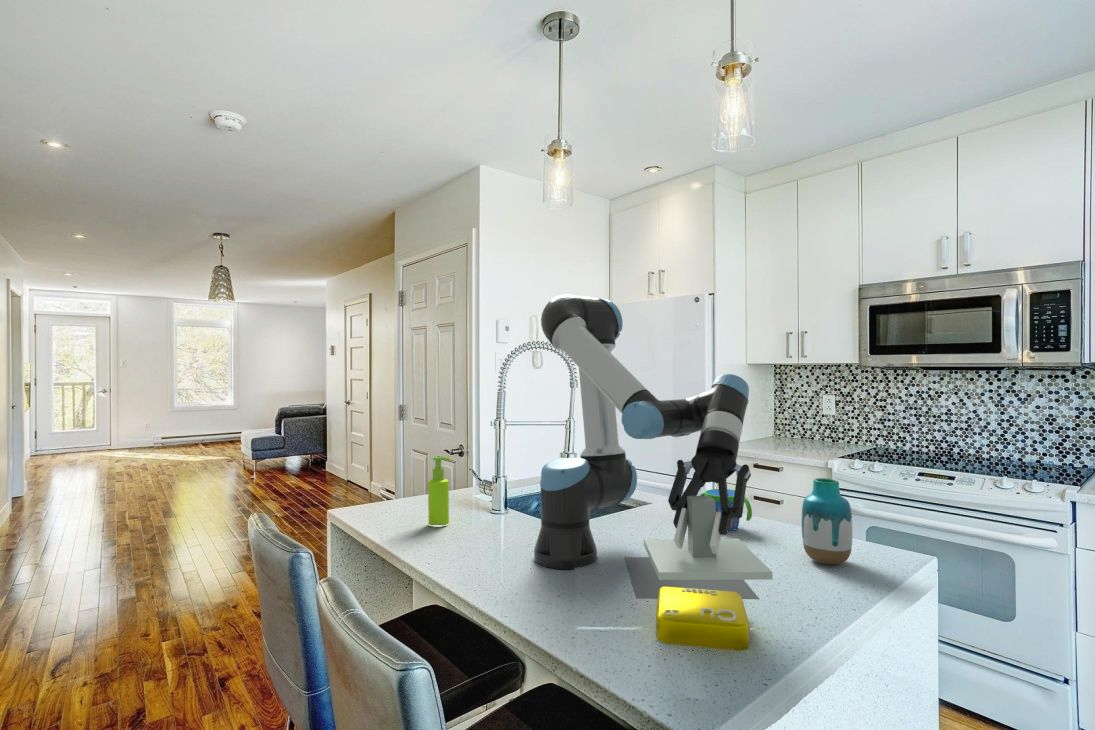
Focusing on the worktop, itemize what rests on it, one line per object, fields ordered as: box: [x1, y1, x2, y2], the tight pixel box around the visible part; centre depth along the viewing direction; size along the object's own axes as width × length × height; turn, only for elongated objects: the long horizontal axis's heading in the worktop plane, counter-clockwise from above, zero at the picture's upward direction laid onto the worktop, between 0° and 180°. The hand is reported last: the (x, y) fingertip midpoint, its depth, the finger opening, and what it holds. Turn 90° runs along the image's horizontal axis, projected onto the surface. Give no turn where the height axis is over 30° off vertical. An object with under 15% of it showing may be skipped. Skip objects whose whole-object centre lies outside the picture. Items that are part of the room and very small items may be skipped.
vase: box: [801, 477, 853, 565], centre depth 131 cm, size 11×11×19 cm
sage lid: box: [643, 495, 774, 581], centre depth 99 cm, size 18×18×11 cm
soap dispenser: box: [427, 456, 453, 525], centre depth 165 cm, size 6×7×20 cm
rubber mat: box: [623, 556, 760, 600], centre depth 122 cm, size 24×24×1 cm
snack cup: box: [699, 488, 753, 532], centre depth 159 cm, size 16×10×10 cm
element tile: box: [655, 586, 750, 652], centre depth 99 cm, size 15×15×5 cm
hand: (695, 546), depth 96 cm, fingers closed on sage lid, 5 cm apart
